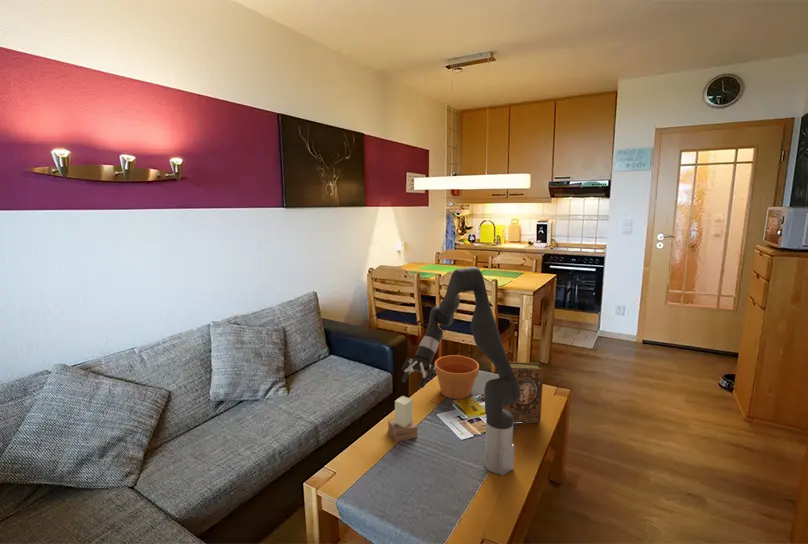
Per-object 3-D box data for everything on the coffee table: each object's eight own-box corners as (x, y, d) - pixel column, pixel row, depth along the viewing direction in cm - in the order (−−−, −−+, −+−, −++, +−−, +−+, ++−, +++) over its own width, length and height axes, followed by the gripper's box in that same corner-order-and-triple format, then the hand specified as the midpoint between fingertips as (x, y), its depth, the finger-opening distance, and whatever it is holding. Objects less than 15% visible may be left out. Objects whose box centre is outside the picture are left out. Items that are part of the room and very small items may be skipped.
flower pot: (484, 388, 203) (485, 360, 200) (467, 407, 185) (468, 377, 182) (446, 378, 214) (446, 352, 211) (426, 395, 196) (426, 366, 194)
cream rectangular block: (412, 422, 166) (412, 399, 164) (404, 427, 162) (404, 404, 160) (402, 418, 169) (402, 395, 167) (394, 423, 165) (394, 400, 163)
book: (500, 422, 173) (502, 367, 168) (498, 415, 179) (500, 361, 174) (540, 424, 172) (543, 368, 167) (537, 417, 177) (540, 363, 172)
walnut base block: (417, 438, 163) (417, 426, 162) (396, 443, 160) (396, 431, 159) (408, 426, 172) (408, 415, 171) (388, 431, 168) (388, 420, 167)
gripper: (409, 341, 176) (393, 376, 169) (438, 349, 167) (422, 385, 160) (416, 349, 181) (401, 383, 174) (444, 357, 172) (430, 393, 166)
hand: (411, 384), depth 167 cm, fingers open, 8 cm apart
